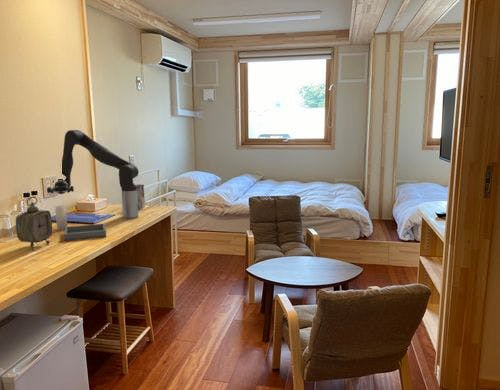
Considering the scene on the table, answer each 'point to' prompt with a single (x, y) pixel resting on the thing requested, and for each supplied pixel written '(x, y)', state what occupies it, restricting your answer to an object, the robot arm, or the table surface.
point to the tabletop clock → (34, 225)
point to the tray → (85, 232)
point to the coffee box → (140, 197)
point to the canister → (61, 217)
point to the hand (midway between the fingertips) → (60, 191)
